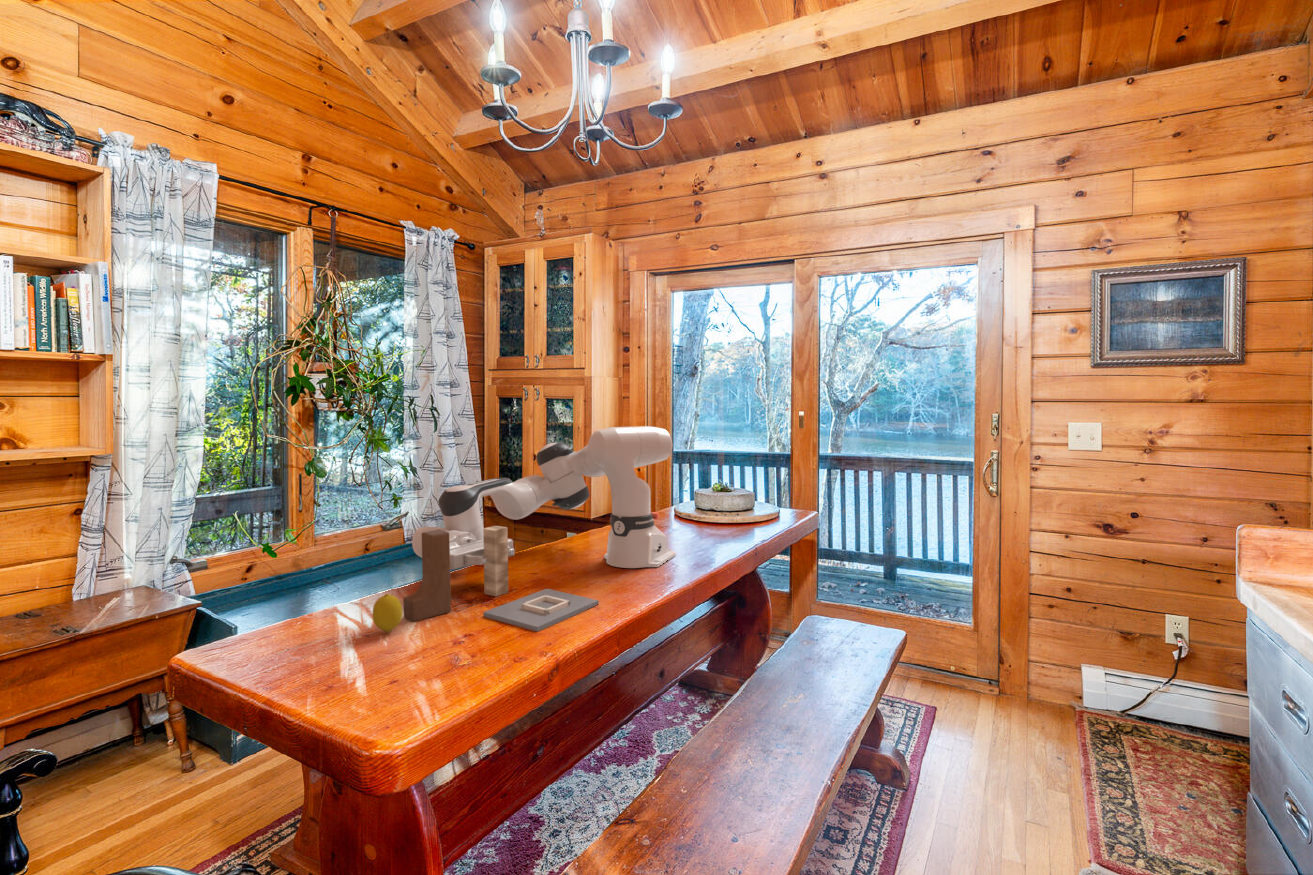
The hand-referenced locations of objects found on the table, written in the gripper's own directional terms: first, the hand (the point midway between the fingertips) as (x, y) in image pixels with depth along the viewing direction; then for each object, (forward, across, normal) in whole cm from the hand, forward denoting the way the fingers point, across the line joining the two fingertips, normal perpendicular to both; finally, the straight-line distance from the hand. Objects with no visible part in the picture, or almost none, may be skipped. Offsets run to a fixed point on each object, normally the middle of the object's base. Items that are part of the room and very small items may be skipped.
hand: (498, 556), depth 154 cm
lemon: (0, +30, -9) cm, 31 cm away
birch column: (-1, 0, -9) cm, 9 cm away
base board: (+17, +3, -9) cm, 20 cm away
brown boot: (-2, +19, -9) cm, 21 cm away
